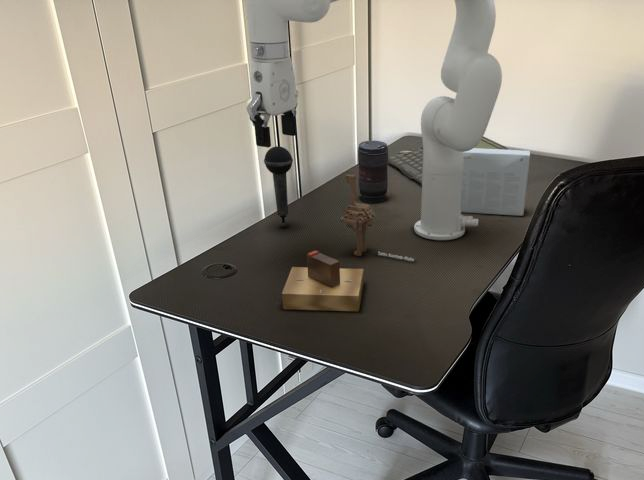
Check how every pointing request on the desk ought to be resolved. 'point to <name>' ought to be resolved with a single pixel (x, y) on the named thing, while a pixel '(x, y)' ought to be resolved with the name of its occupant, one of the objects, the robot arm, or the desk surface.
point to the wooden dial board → (323, 291)
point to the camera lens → (373, 170)
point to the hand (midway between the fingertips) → (276, 140)
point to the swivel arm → (323, 269)
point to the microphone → (279, 177)
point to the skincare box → (494, 181)
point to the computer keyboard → (414, 160)
